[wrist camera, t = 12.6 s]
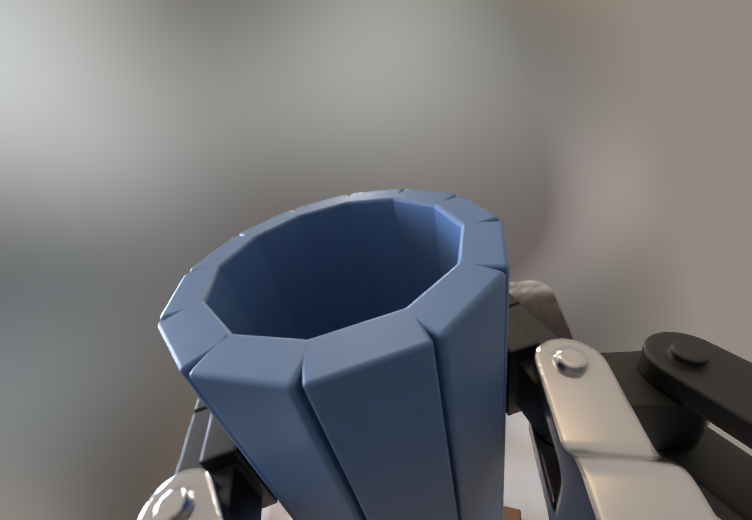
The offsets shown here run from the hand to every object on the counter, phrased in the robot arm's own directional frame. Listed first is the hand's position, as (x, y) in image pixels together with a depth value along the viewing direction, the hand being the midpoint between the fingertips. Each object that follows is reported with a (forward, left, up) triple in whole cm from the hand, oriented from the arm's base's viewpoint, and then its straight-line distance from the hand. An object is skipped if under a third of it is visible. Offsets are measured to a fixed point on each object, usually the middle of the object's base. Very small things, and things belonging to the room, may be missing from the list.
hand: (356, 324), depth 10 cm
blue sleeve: (+1, -2, -6) cm, 6 cm away
